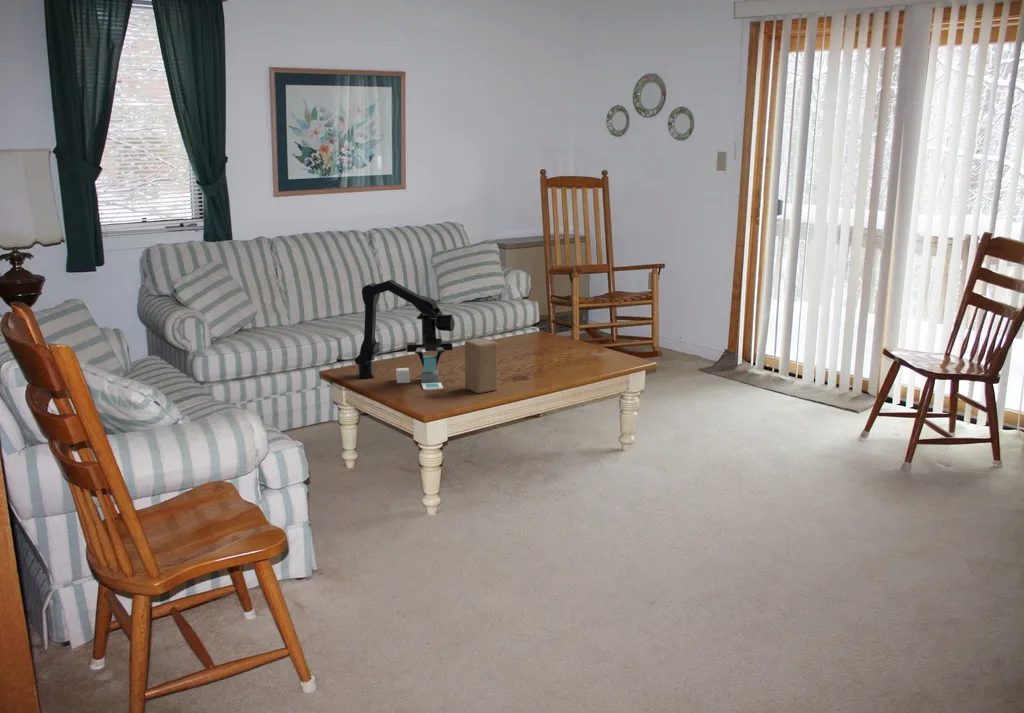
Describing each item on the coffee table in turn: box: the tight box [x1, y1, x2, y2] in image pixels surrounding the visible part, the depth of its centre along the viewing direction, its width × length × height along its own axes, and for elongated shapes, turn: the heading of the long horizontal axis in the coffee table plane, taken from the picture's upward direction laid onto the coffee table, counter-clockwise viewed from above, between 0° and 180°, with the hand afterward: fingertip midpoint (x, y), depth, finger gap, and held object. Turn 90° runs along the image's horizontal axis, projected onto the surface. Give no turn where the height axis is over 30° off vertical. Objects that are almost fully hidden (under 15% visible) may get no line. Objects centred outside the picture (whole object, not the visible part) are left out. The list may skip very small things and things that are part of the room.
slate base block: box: [420, 369, 440, 385], centre depth 374 cm, size 7×7×4 cm
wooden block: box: [464, 337, 499, 394], centre depth 360 cm, size 10×10×20 cm
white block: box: [395, 367, 411, 384], centre depth 373 cm, size 5×5×5 cm
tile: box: [421, 382, 444, 391], centre depth 366 cm, size 8×8×1 cm
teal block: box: [422, 355, 437, 371], centre depth 372 cm, size 5×5×5 cm
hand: (429, 366), depth 373 cm, fingers closed on teal block, 5 cm apart
